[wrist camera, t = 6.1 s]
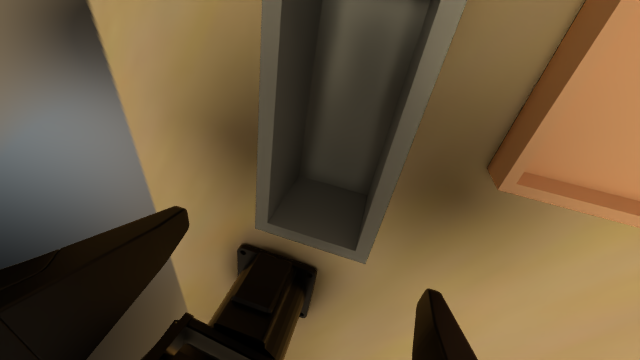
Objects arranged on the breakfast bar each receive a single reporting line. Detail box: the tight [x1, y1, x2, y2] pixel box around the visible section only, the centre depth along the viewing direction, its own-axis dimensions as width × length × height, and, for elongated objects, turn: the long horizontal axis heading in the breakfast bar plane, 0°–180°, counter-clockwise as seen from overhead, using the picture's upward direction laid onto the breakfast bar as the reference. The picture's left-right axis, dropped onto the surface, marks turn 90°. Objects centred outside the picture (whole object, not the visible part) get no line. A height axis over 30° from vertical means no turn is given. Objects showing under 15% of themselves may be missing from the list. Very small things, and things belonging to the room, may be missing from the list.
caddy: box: [255, 0, 467, 264], centre depth 12 cm, size 11×5×5 cm, turn 171°
